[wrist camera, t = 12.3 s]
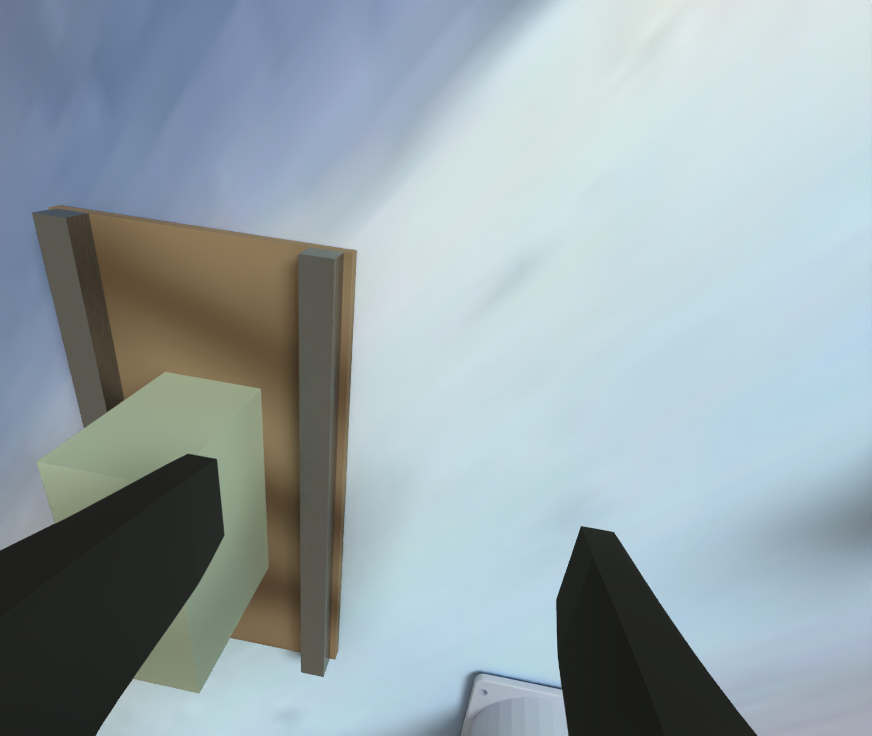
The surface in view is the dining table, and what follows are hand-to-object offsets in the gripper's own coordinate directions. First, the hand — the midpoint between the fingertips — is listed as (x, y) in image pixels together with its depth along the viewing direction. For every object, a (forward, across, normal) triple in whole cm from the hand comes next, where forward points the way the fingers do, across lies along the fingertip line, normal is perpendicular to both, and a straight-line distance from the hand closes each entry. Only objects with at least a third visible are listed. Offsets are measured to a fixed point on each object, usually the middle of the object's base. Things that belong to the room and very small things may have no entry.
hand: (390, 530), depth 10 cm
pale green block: (+9, +9, +8) cm, 15 cm away
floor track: (+9, +9, +8) cm, 15 cm away
